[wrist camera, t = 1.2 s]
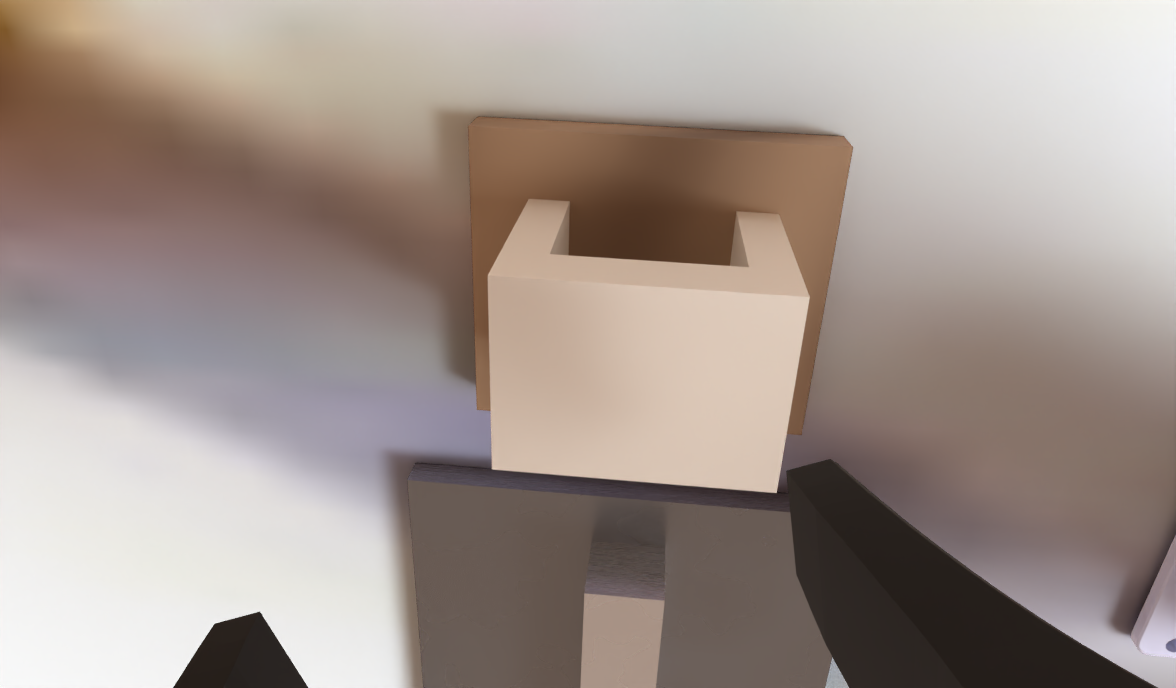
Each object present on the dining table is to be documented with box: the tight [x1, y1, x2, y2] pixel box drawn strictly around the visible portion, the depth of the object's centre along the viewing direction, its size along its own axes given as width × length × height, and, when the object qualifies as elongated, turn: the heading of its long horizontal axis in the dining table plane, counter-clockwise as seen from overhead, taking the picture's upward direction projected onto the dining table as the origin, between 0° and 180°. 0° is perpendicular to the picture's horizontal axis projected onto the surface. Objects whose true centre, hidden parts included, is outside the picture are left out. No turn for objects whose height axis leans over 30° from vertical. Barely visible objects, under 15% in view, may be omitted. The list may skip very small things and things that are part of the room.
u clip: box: [488, 199, 810, 493], centre depth 17 cm, size 5×4×4 cm
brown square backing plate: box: [468, 117, 853, 435], centre depth 19 cm, size 8×7×1 cm
